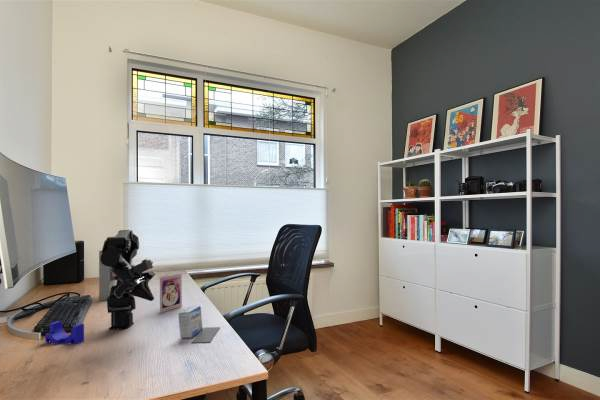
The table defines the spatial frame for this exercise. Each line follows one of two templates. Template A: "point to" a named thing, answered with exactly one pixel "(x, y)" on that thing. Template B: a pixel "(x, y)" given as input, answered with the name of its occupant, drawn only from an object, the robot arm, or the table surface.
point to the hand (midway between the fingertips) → (152, 299)
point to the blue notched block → (65, 334)
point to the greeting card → (170, 292)
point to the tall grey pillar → (105, 280)
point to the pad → (206, 335)
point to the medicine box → (190, 322)
